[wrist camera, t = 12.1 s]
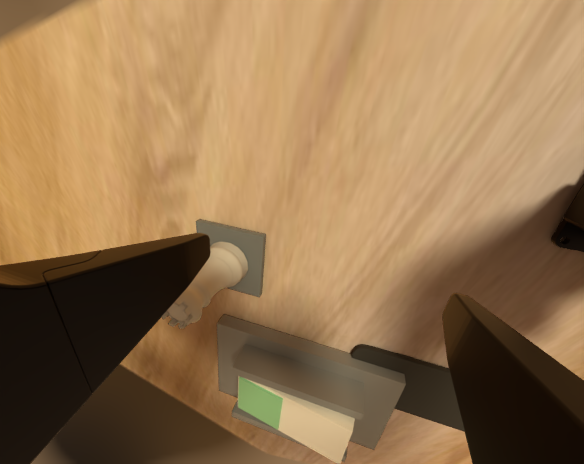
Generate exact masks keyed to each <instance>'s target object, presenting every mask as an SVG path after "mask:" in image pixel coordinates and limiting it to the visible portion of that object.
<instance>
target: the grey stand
mask: <svg viewBox="0 0 584 464" xmlns="http://www.w3.org/2000/svg"><path fill="white" fill-rule="evenodd" d="M217 345H218V377H219V391H221V392H224V393H227V394H229V395H232V396H234V397H237V398H238V376H240V377H242V378H245V379H248V380H251V381H253V382H256V383H259V384H262V385H264V386H267V387H270V388H273V389H275V390H278V391H281V392H284V393H286V394H289V395H292V396H295V397H297V398H300V399H303V400H306V401H308V402H311V403H314V404H317V405H319V406H322V407H325V408H328V409H330V410H333V411H336V412H339V413H341V414H344V415H347V416H349V417H352V418H355V421H354V427H353V432H352V435H351V437H350V440H349V441H352V442H354V443H357V444H359V445H362V446H365V447H367V448H370V449H372V450H374V449H375V447H376V445H377V443H378V441H379V439H380V437H381V435H382V433H383V431H384V429H385V426H386V424H387V422H388V420H389V418H390V416H391V414H392V412H393V410H394V408H395V406H396V404H397V402H398V400H399V398H400V395H401V393H402V391H403V389H404V387H405V385H406V382H405V375H404V374H402V373H399V372H396V371H393V370H389V369H386V368H383V367H380V366H377V365H373V364H370V363H367V362H364V361H360V360H357V359H354V358H352V354H350V353H347V352H344V351H340V350H337V349H334V348H331V347H327V346H324V345H321V344H318V343H315V342H311V341H308V340H305V339H302V338H299V337H295V336H292V335H289V334H286V333H283V332H279V331H276V330H273V329H270V328H267V327H263V326H260V325H257V324H254V323H250V322H247V321H244V320H241V319H238V318H234V317H231V316H228V315H225V314H224V315H223V316H222V317H221V319H220V320H219V321H218V322H217ZM232 417H234V418H236V419H239V420H241V421H244V422H246V423H249V424H251V425H254V426H256V427H259V428H261V429H264V430H266V431H269V432H271V433H274V434H276V435H279V436H281V437H283V438H286V439H288V440H291V441H293V442H296V443H298V444H301V445H303V446H305V445H304V444H302V443H300V442H298V441H297V440H295V439H293V438H291V437H290V436H288V435H286V434H284V433H283V432H281V431H279V430H277V429H275V428H273V427H272V426H270V425H268V424H266V423H265V422H263V421H261V420H259V419H258V418H256V417H254V416H252V415H251V414H249V413H247V412H245V411H244V410H242V409H240V408H238V400H237V402H236V404H235V406H234V408H233V410H232ZM306 447H307V446H306ZM308 448H309V447H308ZM346 455H347V448H346V450H345V453H344V455H343V458H342V461H343V462H345V459H346Z"/></svg>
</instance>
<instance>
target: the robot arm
mask: <svg viewBox="0 0 584 464" xmlns="http://www.w3.org/2000/svg"><path fill="white" fill-rule="evenodd" d="M564 237H566V239H565V240H564V241H561V242H560V240H561V239H562V238H564ZM551 241H552V243H553V244H555V245H557V246H558V247H562V248H567V249H572V250H577V251H583V252H584V185H583V186H582V188H581V189H580V191H579V193H578V194H577V196H576V197H575V199H574V201H573V202H572V204H571V205H570V207H569V209H568V210H567V212H566V213H565V215H564V218H563V220H562V221H561V223H560V225H559V226H558V228H557V229H556V231H555V233H554V234H553V236H552V238H551ZM210 253H211V251H210V238H209V236H208V235H207V234H203V233H194V234H189V235H183V236H178V237H172V238H166V239H161V240H155V241H150V242H144V243H138V244H133V245H127V246H121V247H116V248H110V249H105V250H102V251H101V250H99V251H93V252H87V253H82V254H76V255H70V256H63V257H56V258H50V259H43V260H36V261H29V262H22V263H15V264H8V265H1V266H0V464H30V463H32V462H33V460H34V459H35V458H36V457H37V456H38V455H39V454H40V453H41V451H42V450H43V449H44V448H45V447H46V446H47V445H48V444H49V443H50V441H51V440H52V439H53V438H54V437H55V436H56V435H57V433H58V432H59V431H60V430H61V429H62V428H63V427H64V426H65V424H66V423H67V422H68V421H69V420H70V419H71V418H72V417H73V416H74V414H75V413H76V412H77V411H78V410H79V409H80V408H81V407H82V405H83V404H84V403H85V402H86V401H87V400H88V399H89V398H90V397H91V395H92V393H93V392H95V391H96V390H97V388H98V387H99V386H100V385H101V384H102V383H103V382H104V380H106V378H107V377H108V376H109V375H110V374H111V373H112V372H113V371H114V369H115V368H116V367H117V366H118V365H119V364H120V363H121V362H122V360H123V359H124V358H125V357H126V356H127V355H128V354H129V353H130V352H131V350H132V349H133V348H134V347H135V346H136V345H137V344H138V343H139V341H140V340H141V339H142V338H143V337H144V336H145V335H146V334H147V332H148V331H149V330H150V329H151V328H152V327H153V326H154V325H155V324H156V322H157V321H158V320H159V319H160V318H161V317H162V316H163V315H164V313H165V312H166V311H167V310H168V309H169V308H170V307H171V306H172V304H173V303H174V302H175V301H176V300H177V299H178V298H179V297H180V296H181V294H182V293H183V292H184V291H185V290H186V289H187V288H188V286H189V285H190V284H191V282H192V281H193V280H194V278H195V277H196V276H197V274H198V273H199V271H200V270H201V269H202V267H203V266H204V265H205V263H206V262H207V260H208V259H209V257H210ZM442 320H443V328H444V337H445V345H446V353H447V360H448V365H449V370H450V374H451V378H452V382H453V386H454V390H455V394H456V398H457V402H458V406H459V410H460V414H461V418H462V422H463V427H464V431H465V435H466V439H467V443H468V447H469V451H470V455H471V459H472V463H473V464H584V380H582V379H581V378H579V377H578V376H577V375H575V374H574V373H573V372H571V371H570V370H569V369H567V368H566V367H564V366H563V365H562V364H560V363H559V362H558V361H556V360H555V359H554V358H552V357H551V356H549V355H548V354H547V353H545V352H544V351H543V350H541V349H540V348H539V347H537V346H536V345H534V344H533V343H532V342H530V341H529V340H528V339H526V338H525V337H524V336H522V335H521V334H520V333H518V332H517V331H515V330H514V329H513V328H511V327H510V326H509V325H507V324H506V323H505V322H503V321H502V320H500V319H499V318H498V317H496V316H495V315H494V314H492V313H491V312H490V311H488V310H487V309H485V308H484V307H483V306H481V305H480V304H479V303H477V302H476V301H475V300H473V299H472V298H470V297H469V296H467V295H463V294H458V293H453V294H452V295H451V297H450V299H449V301H448V303H447V305H446V307H445V310H444V312H443V316H442Z"/></svg>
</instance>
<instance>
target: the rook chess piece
mask: <svg viewBox="0 0 584 464" xmlns="http://www.w3.org/2000/svg"><path fill="white" fill-rule="evenodd" d="M210 251H211V253H210V257H209V259H208V260H207V262H206V263H205V265H204V266H203V267H202V269H201V270H200V271H199V273H198V274H197V276H196V277H195V278H194V280H193V281H192V282H191V284H190V285H189V286H188V288H187V289H186V290H185V291H184V292H183V293H182V294H181V296H180V297H179V298H178V299H177V300H176V301H175V302H174V303H173V304H172V306H171V307H170V308H169V309H168V310H167V311H166V312H165V313H164V315H163V316H162V319H165V318H166V317H167V316H169V317H170V318H171V319H172V320H171V321H170V322H169V323H168V324H169V325H170V326H172V327H174V326H175V325H176V324H177V323H180V324H179V325H178V327H179V329H182V328H185V327H186V326H187V325H189V324H190V323H196V322H197V321H199V320H200V319H201V316H202V308H204V307H207V306H208V305H209V304H210V301H211V298H212V297H213V296H214V295H215V294H216V293H217V292H219V291H220V290H221V289H225V288H228V287H232V286H234V285H236V284H237V283H238V282H240V281H241V279H242V278H244V277H245V276H246V273H247V271H248V262H247V259H246V257H245V255H244V253H243V252H242V251H241V250H240V249H239V248H238V247H237V246H235V245H233V244H231V243H228V242H217V243H214V244H213V245H212V246H211V247H210Z"/></svg>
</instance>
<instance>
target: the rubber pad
mask: <svg viewBox="0 0 584 464" xmlns="http://www.w3.org/2000/svg"><path fill="white" fill-rule="evenodd" d="M196 229H197V233H203V234H207V235H208V236H209V238H210V247H211V246H212V245H213V244H214V243H217V242H228V243H231V244H233V245H235V246H237V247H238V248H239V249H240V250H241V251H242V252H243V253H244V255H245V257H246V259H247V262H248V271H247V273H246V276H245V277H244V278H242V279H241V281H240V282H238V283H237V284H236V285H234V286H232V287H228V288H229V289H232V290H236V291H239V292H243V293H246V294H250V295H253V296H257V297H260V296H261V294H262V285H263V271H264V256H265V242H266V234H263V233H259V232H254V231H250V230H246V229H241V228H237V227H232V226H228V225H224V224H219V223H215V222H211V221H206V220H202V219H199V220H197V221H196Z"/></svg>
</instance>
